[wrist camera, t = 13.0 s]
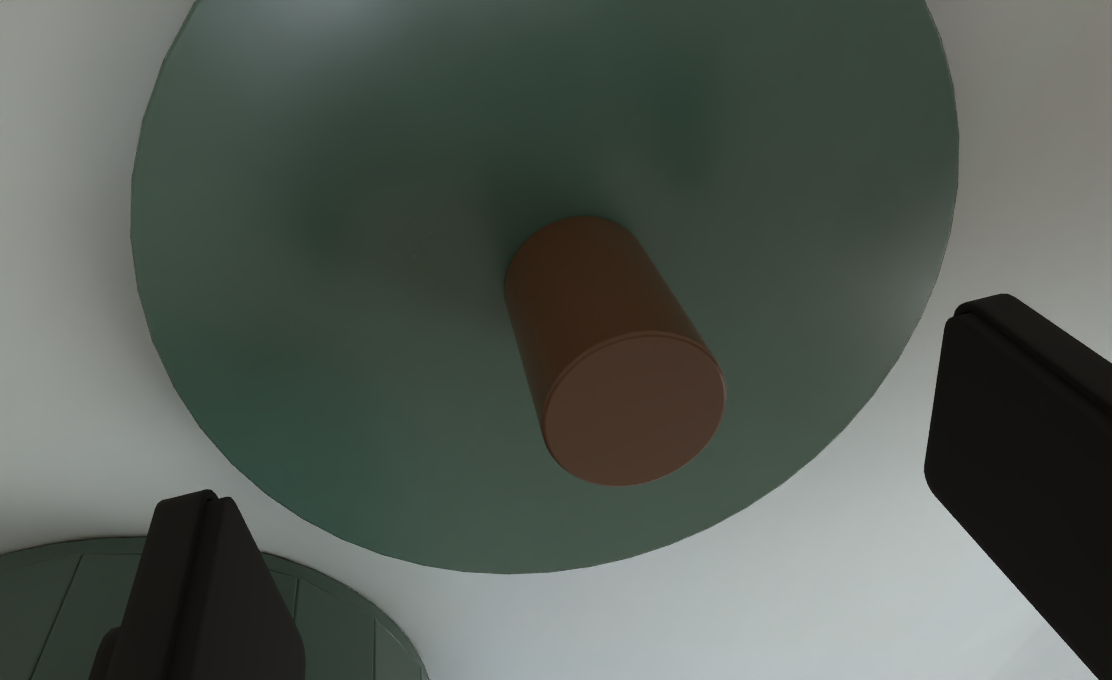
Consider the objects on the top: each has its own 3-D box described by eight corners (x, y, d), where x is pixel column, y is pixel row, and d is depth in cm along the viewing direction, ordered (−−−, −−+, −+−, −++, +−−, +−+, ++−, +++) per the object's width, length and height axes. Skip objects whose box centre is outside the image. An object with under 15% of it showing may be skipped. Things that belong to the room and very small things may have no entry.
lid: (1062, -84, 15) (1369, -51, 10) (778, 543, 22) (882, 724, 17) (122, -337, 11) (-68, -472, 6) (160, 532, 18) (87, 764, 13)
